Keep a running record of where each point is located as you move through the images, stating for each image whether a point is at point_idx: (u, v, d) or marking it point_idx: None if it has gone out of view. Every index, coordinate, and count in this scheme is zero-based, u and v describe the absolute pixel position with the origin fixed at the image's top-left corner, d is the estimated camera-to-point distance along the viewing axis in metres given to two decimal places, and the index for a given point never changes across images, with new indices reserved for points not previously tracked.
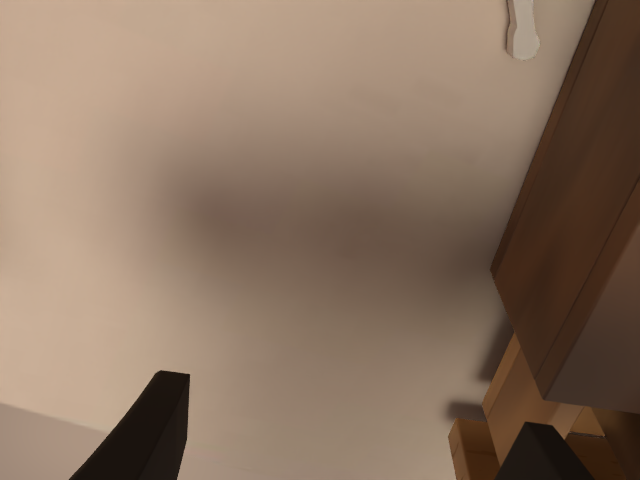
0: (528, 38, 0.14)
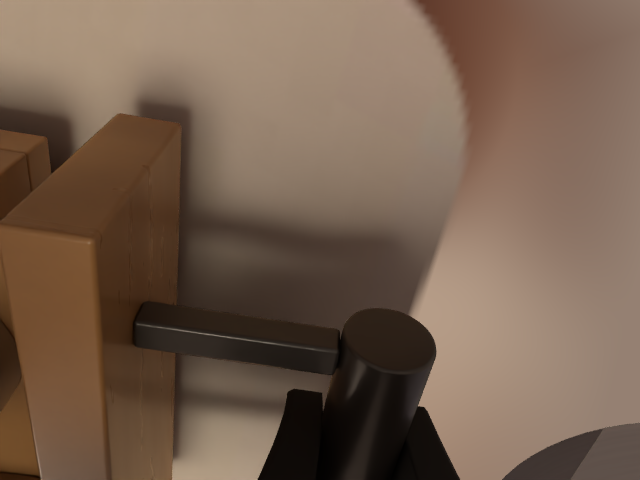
0: None
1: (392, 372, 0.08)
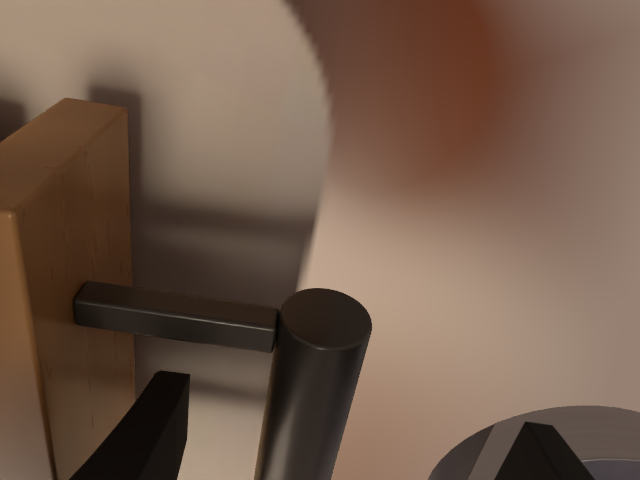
0: None
1: (324, 348, 0.09)
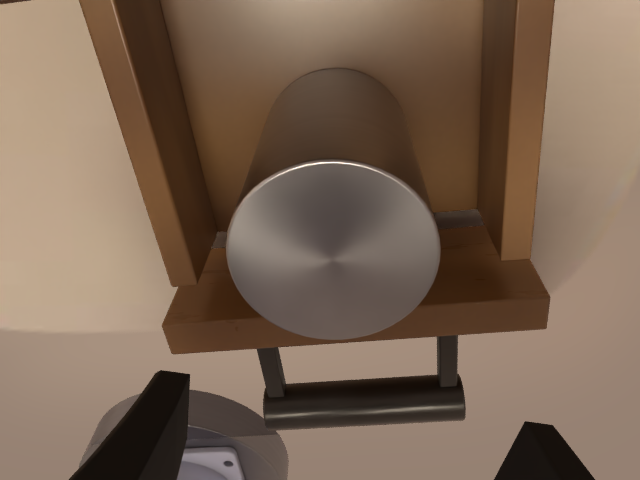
0: None
1: (464, 413, 0.19)
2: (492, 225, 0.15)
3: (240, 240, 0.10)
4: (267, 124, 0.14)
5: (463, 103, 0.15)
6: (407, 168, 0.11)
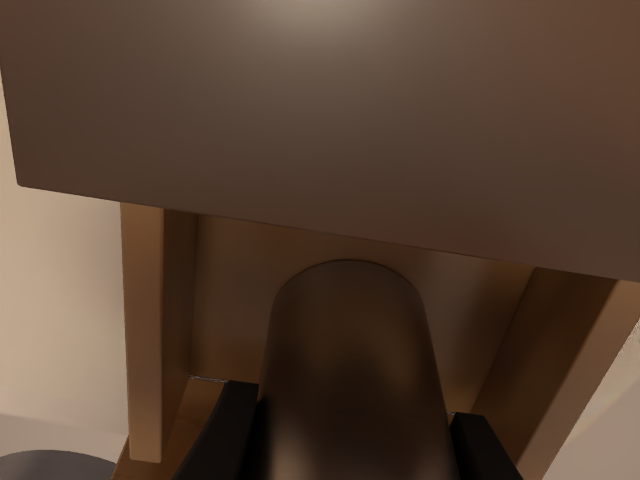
0: None
1: None
2: None
3: None
4: (290, 327, 0.12)
5: (491, 324, 0.14)
6: None
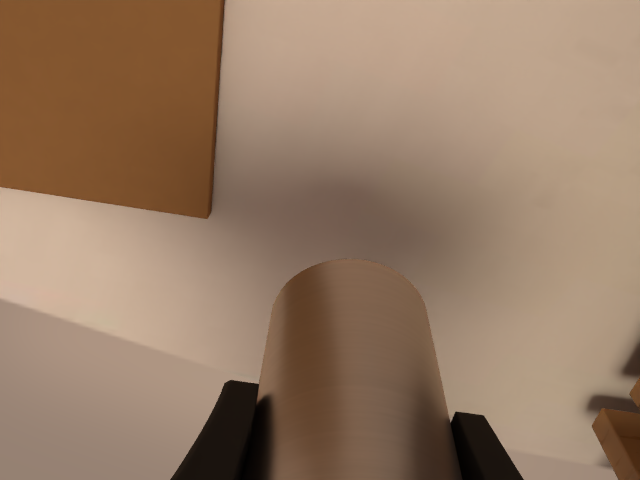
0: None
1: None
2: None
3: None
4: (291, 326, 0.12)
5: None
6: None
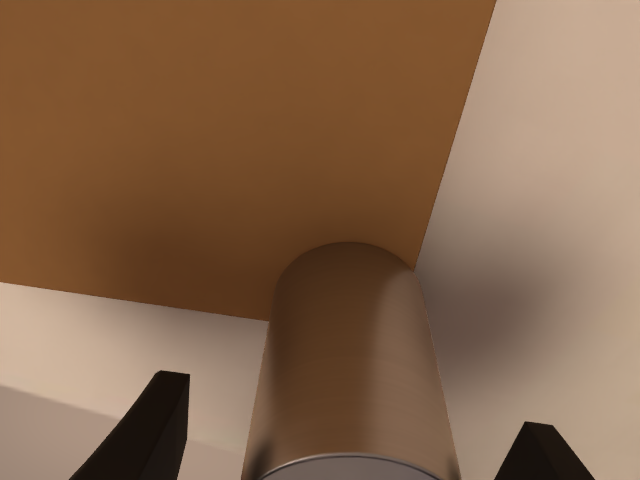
0: None
1: None
2: None
3: None
4: (292, 304, 0.13)
5: None
6: (449, 448, 0.10)
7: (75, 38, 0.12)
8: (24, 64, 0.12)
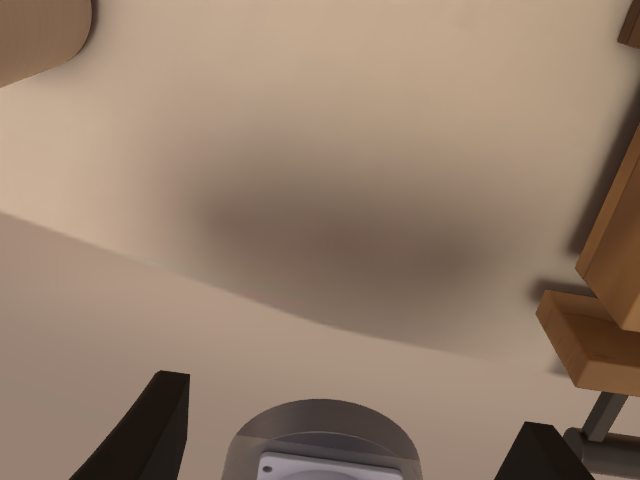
0: None
1: None
2: None
3: None
4: None
5: None
6: None
7: None
8: None
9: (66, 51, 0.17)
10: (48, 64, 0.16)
